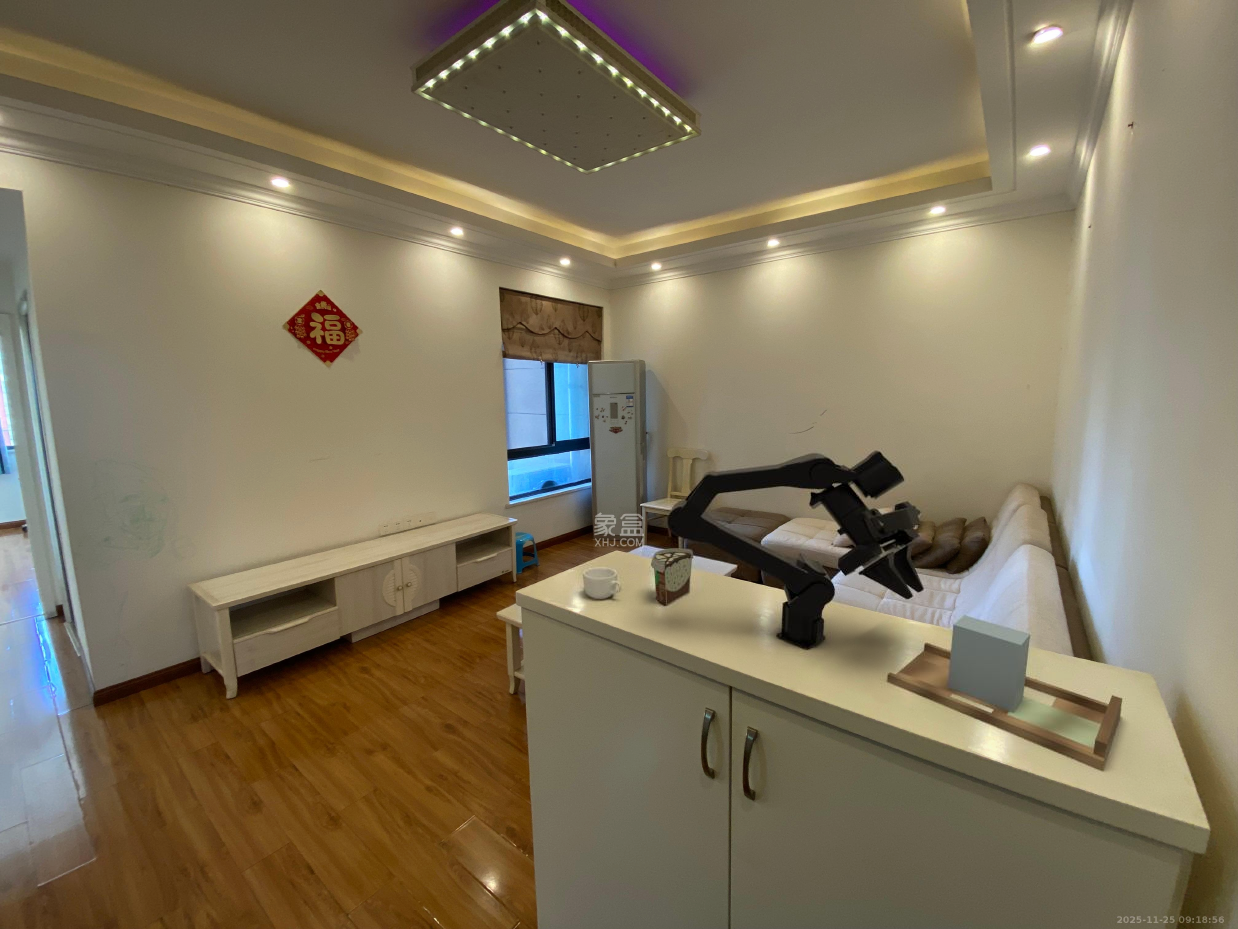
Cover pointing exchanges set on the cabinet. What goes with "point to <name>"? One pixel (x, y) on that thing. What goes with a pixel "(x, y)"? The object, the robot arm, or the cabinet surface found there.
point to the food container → (672, 574)
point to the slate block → (988, 662)
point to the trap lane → (1023, 710)
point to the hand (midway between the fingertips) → (915, 594)
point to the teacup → (600, 582)
